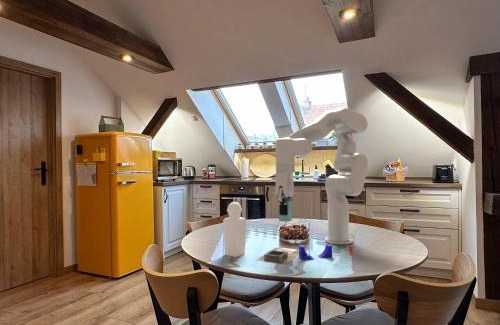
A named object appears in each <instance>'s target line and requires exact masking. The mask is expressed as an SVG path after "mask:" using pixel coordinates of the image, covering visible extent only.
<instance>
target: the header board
mask: <svg viewBox="0 0 500 325" xmlns="http://www.w3.org/2000/svg"><path fill="white" fill-rule="evenodd" d="M297 256H299V249H295V248H288V247H287V248H286V247H277V246H276V247H274V248H273V249H271V250H268V251H267V252H265V253H264V254H263V255H262V256H260V257H258V258H257V259H256V261H259V262H266V263H273V264H281V265H288V264H290V263H291V261H293V260H294V259H295V258H296V257H297Z"/></svg>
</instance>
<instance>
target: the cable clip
mask: <svg viewBox="0 0 500 325" xmlns="http://www.w3.org/2000/svg"><path fill="white" fill-rule="evenodd" d="M298 250H299V255H298V257H299V258H300V260H302V261H304V260H306V261H309V260H311V261H312V260H315V258H314V257H313V256H312V255H309V254H308V253H307V252H306V247H305V245H303V244H298ZM317 257H318V258H319V259H330V258H333V245H331V243H326V244H325V246H324V249H323V251H322V252H321V253H320V254H318V255H317Z"/></svg>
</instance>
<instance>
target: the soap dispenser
mask: <svg viewBox="0 0 500 325" xmlns="http://www.w3.org/2000/svg"><path fill="white" fill-rule="evenodd" d="M226 211H227V213H228V217H225V218H224V219H223V220H222V222H223V239H224V241H223V242H224V255H226V256H230V257H234V258H236V257H239V256H242V255H245V252H246V227H247V225H246V224H247V220H246V218H245V217H241V213H242V211H243V208H242V206H241V203H239V202H237V201H232V202H230V203H229V204H228V206H227V208H226Z"/></svg>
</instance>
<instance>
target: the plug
mask: <svg viewBox="0 0 500 325" xmlns="http://www.w3.org/2000/svg"><path fill="white" fill-rule="evenodd" d="M277 201H278V202H279V200H277ZM284 201H285V199H284ZM292 202H293V197H291V198H287V204H286V205H287V215H280V214H279V213H278V220H279V222H288V223H289V222H291V221H292V220H293V219H292V218H293V217H292V216H293V215H292V214H293V210H292V206H293V203H292Z"/></svg>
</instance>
